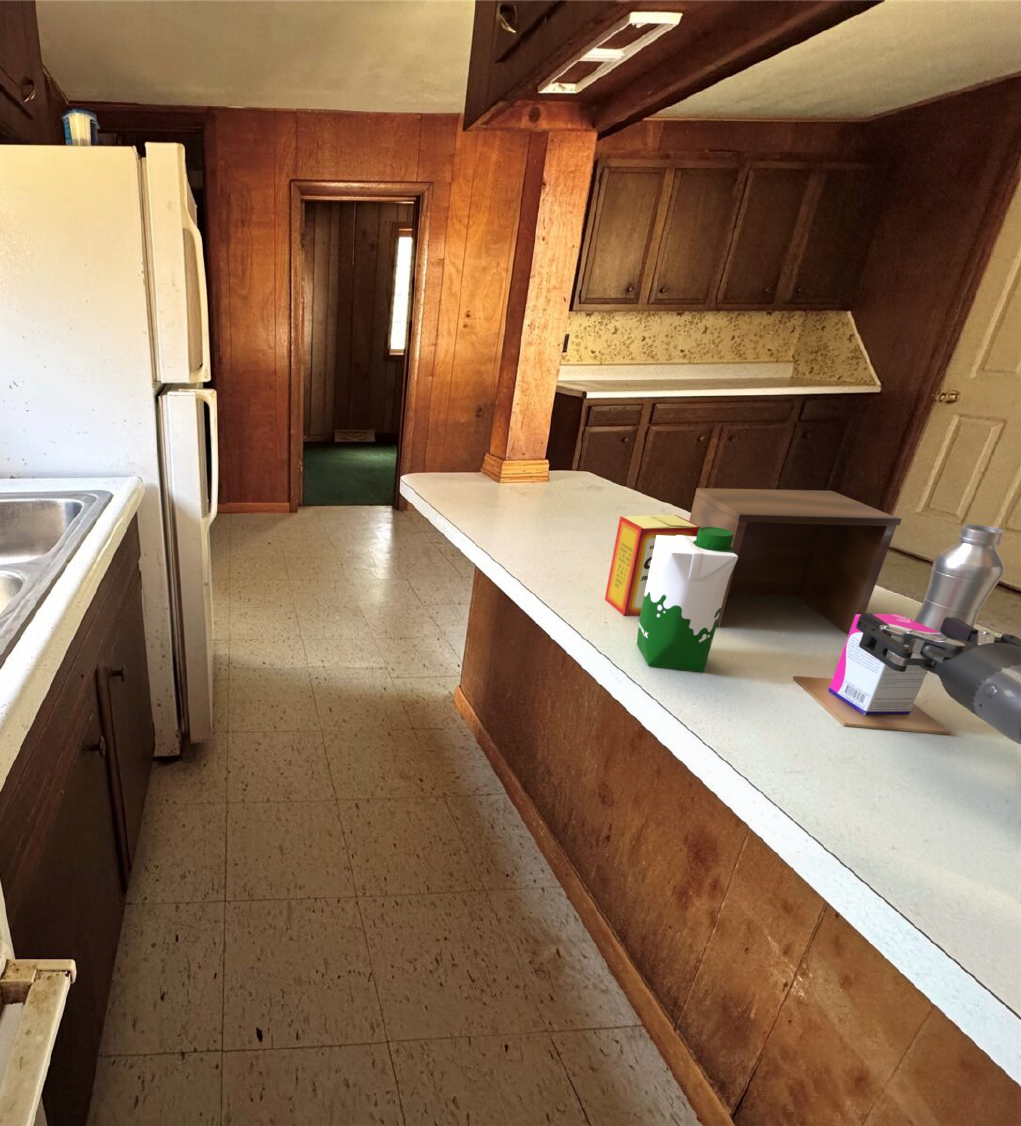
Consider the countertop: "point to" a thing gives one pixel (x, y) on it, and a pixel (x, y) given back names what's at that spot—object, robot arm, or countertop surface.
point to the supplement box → (878, 673)
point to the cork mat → (854, 718)
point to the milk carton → (684, 598)
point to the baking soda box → (638, 557)
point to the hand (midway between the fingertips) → (903, 621)
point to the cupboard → (801, 546)
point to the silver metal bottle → (963, 577)
